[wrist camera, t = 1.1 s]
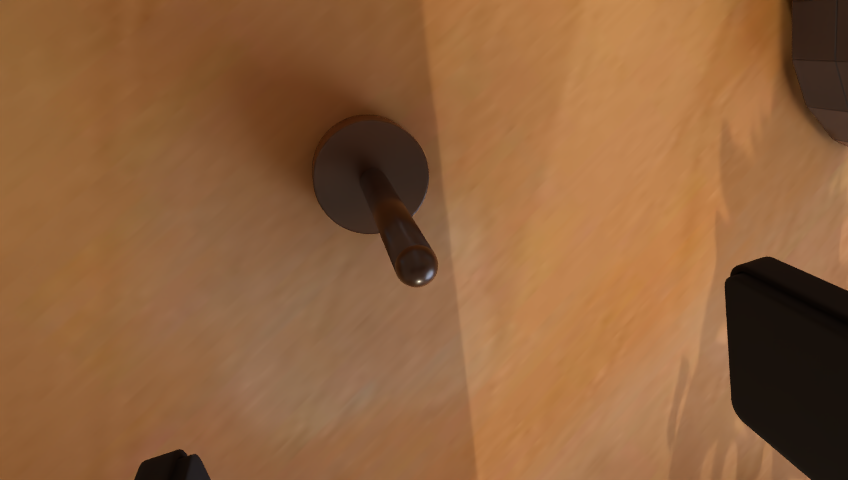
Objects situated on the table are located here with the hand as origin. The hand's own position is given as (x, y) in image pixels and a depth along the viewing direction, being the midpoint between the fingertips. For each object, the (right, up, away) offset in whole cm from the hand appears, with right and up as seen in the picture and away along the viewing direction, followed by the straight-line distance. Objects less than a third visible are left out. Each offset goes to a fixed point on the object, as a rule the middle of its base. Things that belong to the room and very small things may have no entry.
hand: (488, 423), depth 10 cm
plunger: (-4, +6, +18) cm, 19 cm away
